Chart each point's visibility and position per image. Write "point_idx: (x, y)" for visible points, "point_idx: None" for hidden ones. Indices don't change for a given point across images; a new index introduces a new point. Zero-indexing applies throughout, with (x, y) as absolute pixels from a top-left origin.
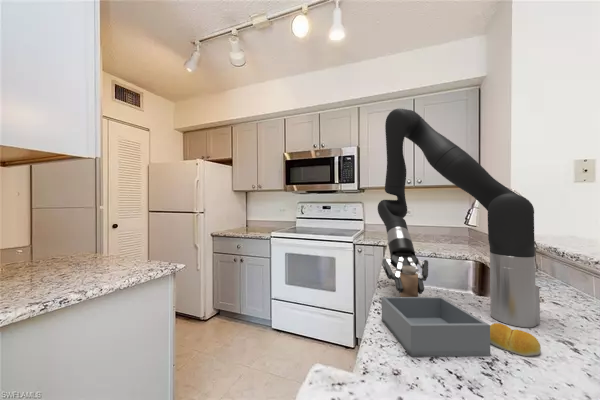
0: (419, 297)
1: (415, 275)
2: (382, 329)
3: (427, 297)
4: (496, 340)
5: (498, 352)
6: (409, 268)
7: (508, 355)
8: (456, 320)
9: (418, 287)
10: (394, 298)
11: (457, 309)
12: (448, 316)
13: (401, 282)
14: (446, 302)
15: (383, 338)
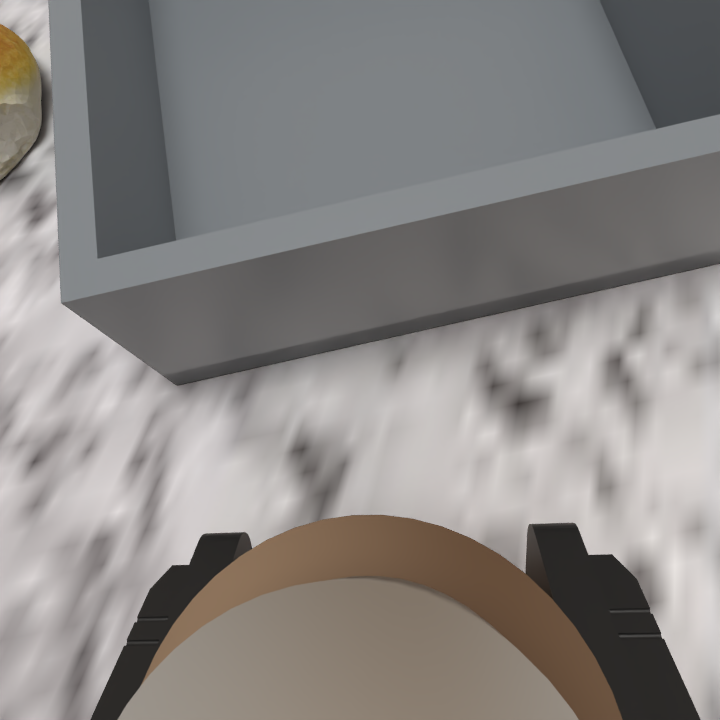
0: (360, 216)
1: (238, 583)
2: None
3: (256, 241)
4: (16, 35)
5: None
6: (384, 589)
7: (37, 15)
8: (139, 118)
9: None
10: (691, 121)
11: (88, 29)
12: (153, 215)
13: None
14: (97, 165)
15: None
